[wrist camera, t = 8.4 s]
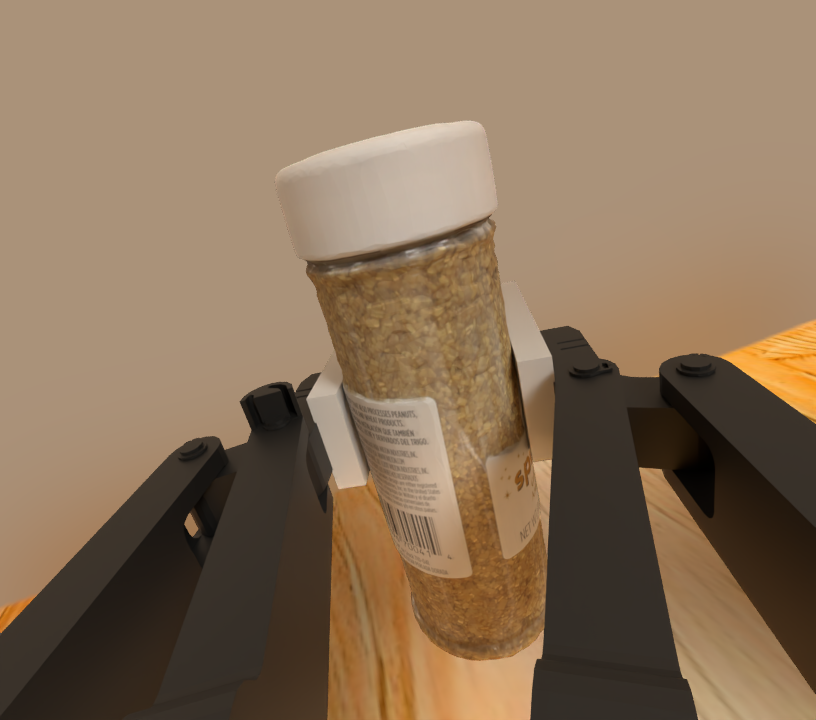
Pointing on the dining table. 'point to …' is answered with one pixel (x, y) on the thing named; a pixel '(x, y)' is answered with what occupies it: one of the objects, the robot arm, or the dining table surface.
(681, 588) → the dining table surface
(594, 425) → the robot arm
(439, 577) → the sprinkles bottle
